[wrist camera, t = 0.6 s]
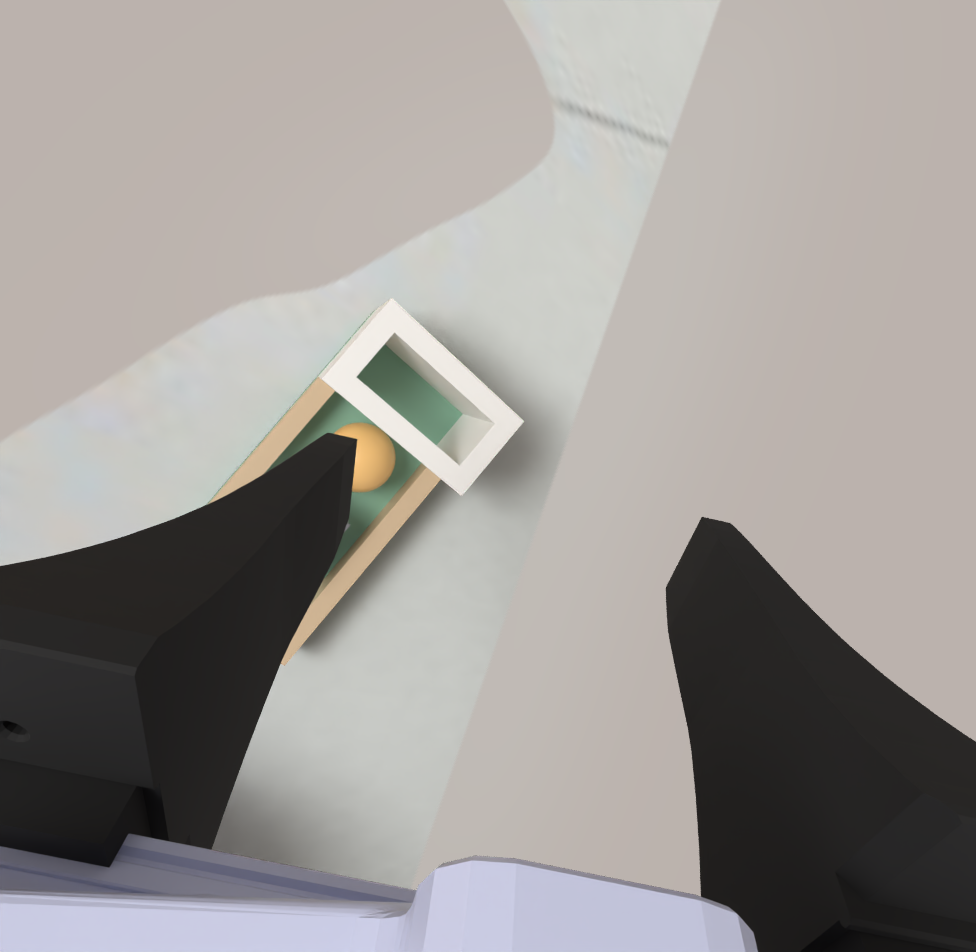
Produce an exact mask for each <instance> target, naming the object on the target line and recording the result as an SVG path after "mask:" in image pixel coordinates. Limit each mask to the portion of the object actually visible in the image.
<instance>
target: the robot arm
mask: <svg viewBox="0 0 976 952" xmlns="http://www.w3.org/2000/svg"><path fill="white" fill-rule="evenodd" d="M356 448H357V439H355V438H351V437H346V436H342V435H337V434H333V433H326V434H324V435H323V436H321V437H319V438H318V439H316V440H315V441H313V442H312V443H310V444H309V445H307V446H306V447H304V448H303V449H301V450H300V451H299V452H297V453H296V454H294V455H293V456H291V457H290V458H288V459H287V460H285V461H283V462H282V463H280V464H279V465H277V466H276V467H274V468H272V469H271V470H269V471H268V472H266V473H264V474H263V475H261V476H260V477H258V478H256V479H255V480H253V481H251V482H249V483H247V484H246V485H244V486H242V487H240V488H238V489H237V490H235V491H233V492H231V493H229V494H228V495H226V496H224V497H222V498H220V499H218V500H216V501H214V502H212V503H209V504H207V505H205V506H203V507H201V508H198V509H196V510H194V511H192V512H189V513H187V514H185V515H182V516H180V517H177V518H175V519H172V520H170V521H167V522H164V523H161V524H159V525H156V526H153V527H150V528H147V529H144V530H141V531H139V532H136V533H133V534H130V535H127V536H124V537H121V538H118V539H115V540H111V541H108V542H104V543H101V544H97V545H94V546H90V547H86V548H82V549H78V550H74V551H71V552H67V553H63V554H58V555H54V556H50V557H45V558H40V559H35V560H30V561H25V562H20V563H15V564H10V565H4V566H0V952H976V742H975V741H974V740H972V739H971V738H969V737H968V736H966V735H964V734H963V733H962V732H960V731H959V730H957V729H956V728H954V727H953V726H951V725H950V724H949V723H947V722H946V721H944V720H943V719H941V718H940V717H938V716H937V715H936V714H934V713H933V712H931V711H930V710H929V709H928V708H926V707H925V706H924V705H922V704H921V703H920V702H918V701H917V700H915V699H914V698H913V697H911V696H910V695H908V694H907V693H906V692H905V691H903V690H902V689H901V688H900V687H898V686H897V685H896V684H894V683H893V682H892V681H891V680H889V679H888V678H887V677H886V676H884V675H883V674H882V673H881V672H880V671H878V670H877V669H876V668H875V667H874V666H873V665H871V664H870V663H869V662H868V661H867V660H866V659H864V658H863V657H862V656H861V655H860V654H858V653H857V652H856V651H855V650H854V649H853V648H852V647H850V646H849V645H848V644H847V643H846V642H845V641H844V640H843V639H841V637H840V636H838V635H837V634H836V633H835V632H834V631H833V630H832V629H831V628H830V627H829V626H828V625H827V624H826V623H825V622H824V621H823V620H822V619H821V618H820V617H819V616H818V615H817V614H816V613H815V612H814V611H813V610H812V609H811V608H810V607H809V606H808V605H807V604H806V603H805V602H804V601H803V600H802V599H801V598H800V597H799V596H798V595H797V594H796V592H795V591H794V590H793V589H792V588H791V587H790V586H789V585H788V584H787V583H786V582H785V581H784V580H783V578H782V577H781V576H780V575H779V574H778V573H777V572H776V571H775V570H774V569H773V567H771V565H770V564H769V563H768V562H767V561H766V560H765V559H764V558H763V557H762V555H761V554H760V553H759V552H758V551H757V550H756V549H755V548H754V547H753V546H752V544H751V543H750V542H749V541H748V540H747V539H746V538H745V537H744V536H743V535H742V534H741V533H740V532H739V531H738V530H737V529H736V528H735V527H734V526H733V525H732V524H730V523H726V522H723V521H718V520H714V519H709V518H704V517H702V518H701V520H700V522H699V524H698V526H697V528H696V530H695V532H694V533H693V535H692V538H691V539H690V541H689V543H688V545H687V547H686V549H685V551H684V553H683V555H682V557H681V559H680V561H679V563H678V565H677V567H676V569H675V571H674V573H673V575H672V577H671V579H670V581H669V583H668V584H667V587H666V605H667V623H668V633H669V639H670V644H671V649H672V654H673V659H674V664H675V669H676V674H677V678H678V683H679V688H680V693H681V698H682V702H683V707H684V712H685V717H686V722H687V726H688V732H689V738H690V744H691V751H692V760H693V772H694V782H695V793H696V805H697V821H698V836H699V854H700V881H701V897H700V896H698V895H694V894H689V893H684V892H679V891H674V890H669V889H664V888H659V887H654V886H649V885H644V884H639V883H634V882H630V881H624V880H620V879H614V878H609V877H605V876H600V875H595V874H590V873H584V872H580V871H575V870H570V869H565V868H560V867H555V866H550V865H545V864H540V863H535V862H530V861H525V860H520V859H515V858H502V857H486V856H472V857H468V858H464V859H460V860H455V861H451V862H447V863H443V864H441V865H440V866H439V867H437V868H436V869H435V870H434V871H433V872H432V873H431V874H430V875H429V876H428V877H427V878H425V879H424V880H423V881H422V882H421V883H420V884H419V885H418V888H417V891H416V890H411V889H406V888H401V887H396V886H391V885H386V884H381V883H376V882H371V881H366V880H361V879H356V878H351V877H346V876H341V875H336V874H331V873H326V872H321V871H316V870H311V869H306V868H300V867H295V866H290V865H285V864H280V863H275V862H270V861H265V860H260V859H255V858H250V857H245V856H240V855H235V854H230V853H225V852H220V851H215V850H211V849H212V846H213V843H214V840H215V837H216V835H217V832H218V829H219V826H220V823H221V820H222V817H223V814H224V811H225V809H226V806H227V803H228V800H229V798H230V795H231V792H232V789H233V787H234V784H235V781H236V778H237V776H238V773H239V770H240V767H241V765H242V762H243V759H244V756H245V754H246V751H247V748H248V746H249V743H250V740H251V738H252V735H253V733H254V730H255V727H256V725H257V722H258V719H259V717H260V714H261V712H262V709H263V706H264V704H265V701H266V699H267V696H268V694H269V691H270V689H271V686H272V684H273V681H274V679H275V676H276V674H277V671H278V668H279V666H280V664H281V661H282V659H283V657H284V655H285V653H286V651H287V649H288V646H289V644H290V642H291V640H292V639H293V637H294V635H295V633H296V631H297V629H298V627H299V625H300V623H301V621H302V620H303V618H304V616H305V614H306V612H307V610H308V608H309V606H310V604H311V602H312V600H313V599H314V597H315V595H316V593H317V591H318V589H319V587H320V585H321V583H322V581H323V579H324V578H325V576H326V574H327V572H328V570H329V568H330V566H331V564H332V562H333V560H334V558H335V555H336V553H337V550H338V547H339V545H340V542H341V539H342V537H343V534H344V531H345V528H346V525H347V522H348V520H349V515H350V505H351V496H352V486H353V477H354V467H355V458H356Z"/></svg>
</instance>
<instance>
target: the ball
mask: <svg viewBox="0 0 976 952" xmlns="http://www.w3.org/2000/svg"><path fill="white" fill-rule="evenodd" d="M334 434H337V435H342V436H346V437H351V438H355V439H357V448H356V458H355V467H354V477H353V486H352V492H359V493H360V492H369V491H372V490H374V489H377V488H378V487H380V486H381V485H383V484H384V483H385V482H386V481H387V480H388V478H389V477H390V476H391V474H392V472H393V469H394V466H395V460H396V455H395V449H394V446H393V444H392V441H391V440H390V438H389V437H388V436H387V434H386V433H385V432H384V431H383V430H381V429H380V428H378V427H376V426H374V425H372V424H368V423H362V422H359V423H351V424H347V425H345V426H343V427H341V428H340V429H338V430H337V431H336V432H335V433H334Z"/></svg>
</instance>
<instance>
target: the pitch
mask: <svg viewBox="0 0 976 952" xmlns="http://www.w3.org/2000/svg"><path fill="white" fill-rule="evenodd" d="M359 422H362V423H368V424H372V425H374V426H376V427H378V428H380V429H381V430H383V431H384V432H385V433H386V434H387V436H388V437H389V438H390V440H391V441H392V444H393V446H394V449H395V455H396V460H395V466H394V469H393V472H392V474H391V476H390V477H389V478H388V480H387V481H386V482H385V483H384V484H383V485H381V486H380V487H378V488H377V489H374V490H372V491H369V492H360V493H359V492H352V496H351V505H350V515H349V523H350V526H349V527H348V529H347V530H346V531H345V532H344V534H343V537H342V539H341V542H340V545H339V547H338V550H337V553H336V555H335V558H334V560H333V562H332V564H331V566H330V568H329V570H328V572H327V574H326V576H325V578H324V579H323V581H322V583H321V585H320V587H319V589H318V591H317V593H316V595H315V597H314V599H313V600H312V602H311V604H310V606H309V608H308V610H307V612H306V614H305V616H304V618H303V620H302V621H301V623H300V625H299V627H298V629H297V631H296V633H295V635H294V637H293V639H292V640H291V642H290V644H289V646H288V649H287V651H286V653H285V655H284V657H283V659H282V661H281V664H283V665H284V666H285V665H286V663H287V662H288V661H289V660H290V659H291V657H292V656H293V655H294V654H295V653H296V651H297V650H298V649H299V648H300V647H301V646H302V644H303V643H304V642H305V641H306V640H307V638H308V637H309V636H310V635H311V634H312V632H313V631H314V630H315V629H316V628H317V626H318V625H319V624H320V623H321V622H322V620H323V619H324V618H325V617H326V616H327V615H328V613H329V612H330V611H331V610H332V609H333V607H334V606H335V605H336V604H337V603H338V601H339V600H340V599H341V598H342V597H343V595H344V594H345V593H346V592H347V591H348V589H349V588H350V587H351V586H352V585H353V584H354V582H355V581H356V580H357V579H358V578H359V576H360V575H361V574H362V573H363V572H364V570H365V569H366V568H367V567H368V566H369V564H370V563H371V562H372V561H373V560H374V558H375V557H376V556H377V555H378V554H379V553H380V551H381V550H382V549H383V548H384V547H385V545H386V544H387V543H388V542H389V541H390V539H391V538H392V537H393V536H394V535H395V533H396V532H397V531H398V530H399V529H400V527H401V526H402V525H403V524H404V523H405V522H406V520H407V519H408V518H409V517H410V516H411V514H412V513H413V512H414V511H415V510H416V508H417V507H418V506H419V505H420V504H421V502H422V501H423V500H424V499H425V498H426V496H427V495H428V494H429V493H430V492H431V491H432V489H433V488H434V487H435V486H436V485H437V483H438V482H439V481H440V480H442V481H444V482H445V483H446V484H447V485H449V486H450V487H451V488H452V489H454V490H455V491H456V492H457V493H458V494H460V495H461V496H462V495H463V494H464V493H465V492H466V490H467V489H468V488H469V487H470V486H471V484H472V483H473V482H474V481H475V480H476V478H477V477H478V476H479V475H480V474H481V472H482V471H483V470H484V469H485V468H486V466H487V465H488V464H489V463H490V462H491V460H492V459H493V458H494V457H495V456H496V454H497V453H498V452H499V451H500V450H501V449H502V447H503V446H504V445H505V444H506V443H507V441H508V440H509V439H510V438H511V437H512V435H513V434H514V433H515V432H516V431H517V429H518V428H519V427H520V426H521V425H522V423H523V422H524V421H523V420H522V419H521V418H520V417H519V416H518V415H517V414H516V413H515V412H514V411H513V410H512V409H511V408H509V407H508V406H507V405H506V404H505V403H504V402H503V401H502V400H501V399H500V398H499V397H498V396H497V395H496V394H494V393H493V392H492V391H491V390H490V389H489V388H488V387H487V386H486V385H485V384H484V383H483V382H482V381H480V380H479V379H478V378H477V377H476V376H475V375H474V374H473V373H472V372H471V371H470V370H469V369H468V368H466V367H465V366H464V365H463V364H462V363H461V362H460V361H459V360H458V359H457V358H456V357H455V356H454V355H453V354H451V353H450V352H449V351H448V350H447V349H446V348H445V347H444V346H443V345H442V344H441V343H440V342H439V341H437V340H436V339H435V338H434V337H433V336H432V335H431V334H430V333H429V332H428V331H427V330H426V329H425V328H423V327H422V326H421V325H420V324H419V323H418V322H417V321H416V320H415V319H414V318H413V317H412V316H411V315H410V314H408V313H407V312H406V311H405V310H404V309H403V308H402V307H401V306H400V305H399V304H398V303H397V302H396V301H394V300H393V299H392V298H391V299H390V300H388V301H387V302H386V303H384V304H383V305H382V306H380V307H379V308H378V309H376V310H375V311H373V312H372V314H371V315H370V316H369V317H368V318H367V319H366V321H365V322H364V323H363V324H362V325H361V326H360V327H359V329H358V330H357V331H356V332H355V333H354V334H353V336H352V337H351V338H350V339H349V340H348V341H347V343H346V344H345V345H344V346H343V347H342V348H341V349H340V351H339V352H338V353H337V354H336V355H335V356H334V358H333V359H332V360H331V361H330V362H329V363H328V365H327V366H326V367H325V368H324V369H323V370H322V371H321V373H320V374H319V375H318V376H317V377H316V378H315V380H314V381H313V382H312V383H311V384H310V385H309V387H308V388H307V389H306V390H305V391H304V392H303V393H302V395H301V396H300V397H299V398H298V399H297V400H296V402H295V403H294V404H293V405H292V406H291V407H290V409H289V410H288V411H287V412H286V413H285V414H284V415H283V417H282V418H281V419H280V420H279V421H278V422H277V424H276V425H275V426H274V427H273V428H272V429H271V431H270V432H269V433H268V434H267V435H266V436H265V437H264V439H263V440H262V441H261V442H260V443H259V444H258V446H257V447H256V448H255V449H254V450H253V451H252V453H251V454H250V455H249V456H248V457H247V458H246V459H245V461H244V462H243V463H242V464H241V465H240V466H239V468H238V469H237V470H236V471H235V472H234V473H233V475H232V476H231V477H230V478H229V479H228V480H227V482H226V483H225V484H224V485H223V486H222V487H221V488H220V490H219V491H218V492H217V493H216V494H215V495H214V497H213V498H212V499H211V500H210V501H209V502H208V504H209V503H212V502H214V501H216V500H218V499H220V498H222V497H224V496H226V495H228V494H229V493H231V492H233V491H235V490H237V489H238V488H240V487H242V486H244V485H246V484H247V483H249V482H251V481H253V480H255V479H256V478H258V477H260V476H261V475H263V474H264V473H266V472H268V471H269V470H271V469H272V468H274V467H276V466H277V465H279V464H280V463H282V462H283V461H285V460H287V459H288V458H290V457H291V456H293V455H294V454H296V453H297V452H299V451H300V450H301V449H303V448H304V447H306V446H307V445H309V444H310V443H312V442H313V441H315V440H316V439H318V438H319V437H321V436H323V435H324V434H326V433H333V434H334V433H335V432H336V431H337V430H338V429H340V428H341V427H343V426H345V425H347V424H351V423H359Z"/></svg>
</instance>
